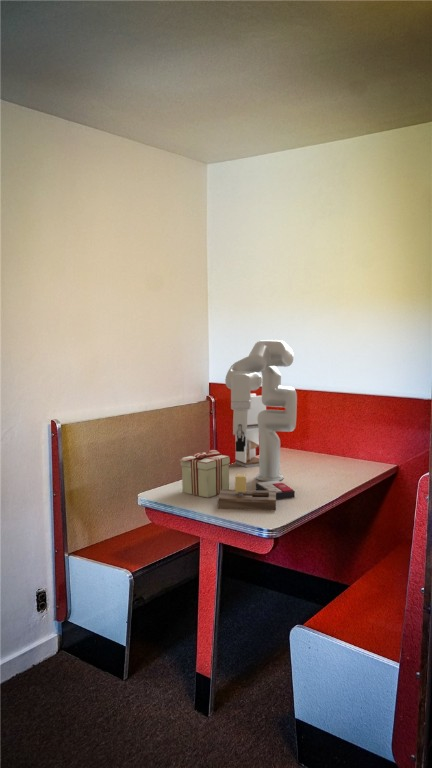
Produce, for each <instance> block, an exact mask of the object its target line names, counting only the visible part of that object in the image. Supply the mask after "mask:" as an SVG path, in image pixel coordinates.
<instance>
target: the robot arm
mask: <svg viewBox="0 0 432 768" xmlns="http://www.w3.org/2000/svg"><path fill="white" fill-rule="evenodd" d="M293 363H294V352H293V349H292V348H291V347H290V346H289V344H287V343H286V342H285V341H284V340H277V339H275V340H273V339H271V340H270V339H266V340H265V339H264V340H263V339H262V340H259V341H257V342H256V343H255V344H253V347H252V349H251V351H250V353H249V355H248V356H246V357H243V358H242V359H240V360H238V361H236V362H234V363H233V364H232V365H230V367H229V369H228V370H227V373H226V375H225V379H224V380H225V381H224V382H225V386H226V388H228V389H229V390H230V409H231V410H233V413H232V414H233V419H232V430H233V431H232V435H233V436H235V453H236V452H244V447H245V446H246V436H245V435H246V430H247V410H250V409H251V394H252V393H251V391H253V392H254V391H257V390H258V389H260V387H261V396H262V403H263V404H264V405H265V406H266V407H269V408H270V407H271V408H273V407H274V408H284V410H282V409H281V410H280V409H266V410H263V411H261V412H259V414H258V417H257V421H258V428H259V446H258V448H259V449H258V450H259V451H258V453H259V455H258V458H259V466H258V468H259V469H258V473H256V474H255V479H256V480H259V481H261V482H267V481H277V480H278V481H282V480H283V479H284V475H283V474H281V439H280V437H279V435H278V434H277V432H286V433H287V432H288V433H290V432H293V431H295V429H296V426H297V413H298V412H297V410H298V408H297V405H298V394H297V391H296V389H295V388H294V387H292V386H287V385H285V386H284V385H282V374H281V372H280V371H279V369H278V368H277V367H284V368H285V367H286V368H287V367H290V366H291V365H292V364H293ZM260 373H261V374H260ZM236 433H237V434H236Z"/></svg>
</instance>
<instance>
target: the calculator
mask: <svg viewBox="0 0 432 768" xmlns="http://www.w3.org/2000/svg"><path fill="white" fill-rule="evenodd" d="M255 490H262V491H276V500H280V499H281V500H282V499H289V498H290V499H293V498H295V495H296V494H295V490H294V488H292V487H290V486H288V485H287V484H286V483H284V482H282V481H281V480H279V481H278V480H277V481H261V482H260V481H258V482H256V483H255ZM292 497H293V498H292Z"/></svg>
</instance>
